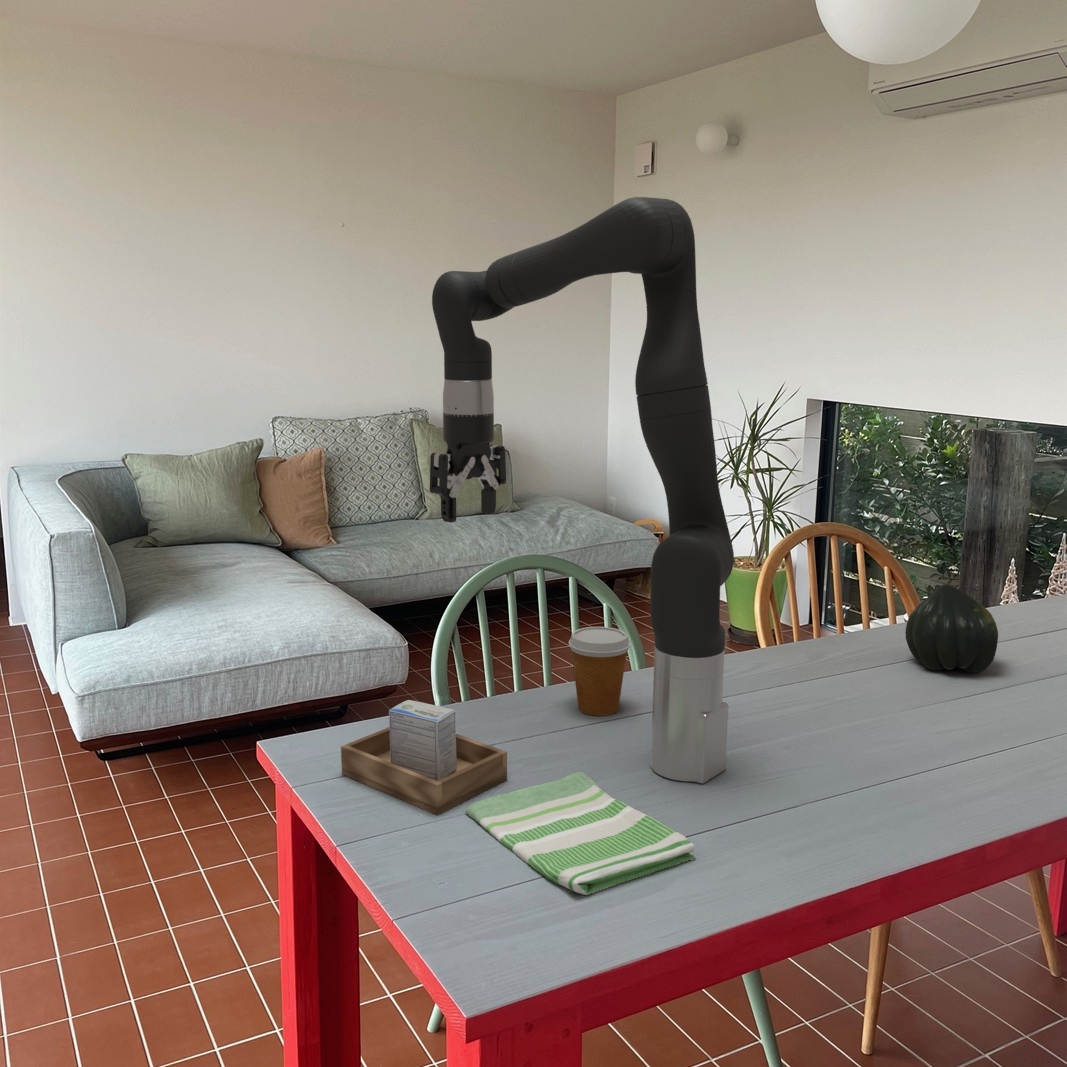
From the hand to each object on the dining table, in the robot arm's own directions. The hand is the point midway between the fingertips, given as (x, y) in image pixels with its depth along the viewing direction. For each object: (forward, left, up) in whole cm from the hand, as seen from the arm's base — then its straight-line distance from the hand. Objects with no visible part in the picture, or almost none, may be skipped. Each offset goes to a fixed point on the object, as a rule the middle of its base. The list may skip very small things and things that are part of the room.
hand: (469, 517), depth 159 cm
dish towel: (-38, +22, -31) cm, 54 cm away
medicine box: (-13, +23, -29) cm, 40 cm away
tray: (-13, +23, -30) cm, 40 cm away
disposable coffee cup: (-16, -12, -30) cm, 36 cm away
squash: (-51, -68, -30) cm, 90 cm away
